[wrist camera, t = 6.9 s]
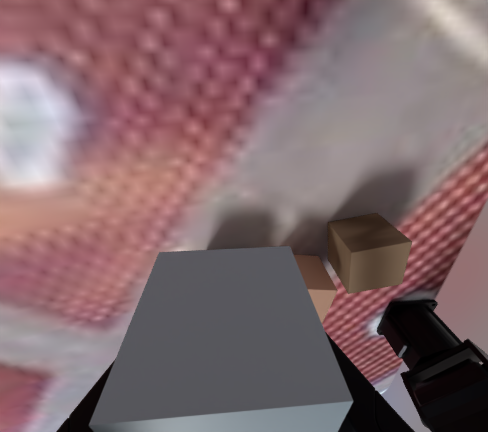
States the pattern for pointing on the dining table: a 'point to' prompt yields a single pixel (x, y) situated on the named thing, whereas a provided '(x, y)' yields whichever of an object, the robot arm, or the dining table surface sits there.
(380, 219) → the walnut block
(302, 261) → the terracotta block
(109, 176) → the dining table surface
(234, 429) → the grey cube
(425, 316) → the robot arm
